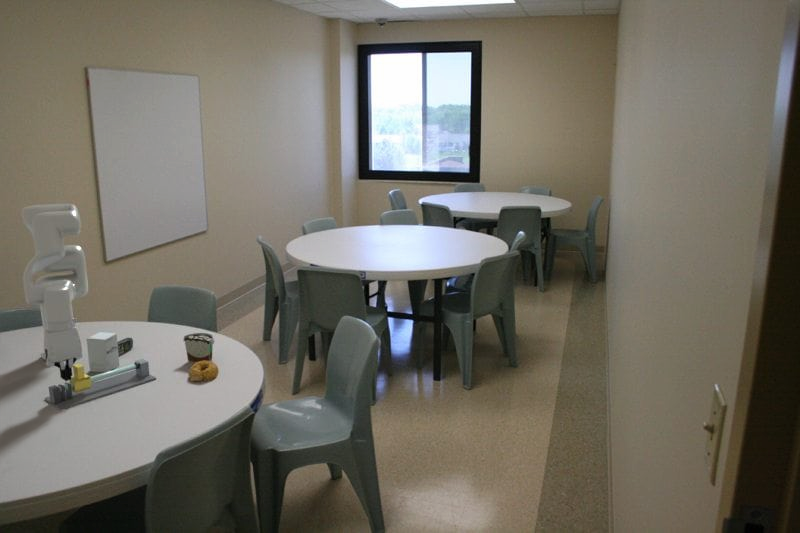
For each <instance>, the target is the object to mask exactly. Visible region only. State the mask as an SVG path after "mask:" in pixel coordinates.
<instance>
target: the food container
mask: <svg viewBox="0 0 800 533" xmlns="http://www.w3.org/2000/svg"><path fill="white" fill-rule="evenodd" d="M183 342H184V345H185V350H186V358H187V362H188V363H193V362H199V361H210V362H213V348H214V347H213V345H214V344H215V338H214V336H213V335H212V334H210V333H207V332H193V333H189V334H186V335H183Z"/></svg>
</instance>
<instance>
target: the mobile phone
mask: <svg viewBox="0 0 800 533" xmlns="http://www.w3.org/2000/svg"><path fill="white" fill-rule="evenodd" d="M133 340H134V339H133V338H132V337H126V338H123V339H121V340H118V341H117V344H118V355H119V357H120V356H122V355H123V354H126V353H128V352H129V351H131V350H132V348H133V347H134V341H133Z"/></svg>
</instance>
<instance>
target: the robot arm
mask: <svg viewBox="0 0 800 533" xmlns="http://www.w3.org/2000/svg"><path fill="white" fill-rule="evenodd" d="M21 218H22V221H23V223H24V225H25V226H26V228H27V229H28V230H29V231H30V234H31V236H32V238H33V245H34V252H35V253H34V254H35V255H34V256H33V257H32V258H31V260H30V261H28V263H27V265H26V266H25V267H24V268H25V269H24V270H23V271H24V272H23V276H22V278H23V280H22V281H23V282H22V283H23V289H24V297H25V301H26V303H27V304H28V305H29V306H31V307H39V308H40V309H39V310H40V316H41V323H42V331H43V353H42V354H41V359H42V360H44V361H46V362H45V365H46V366H47V367H56V368H58V369H59V374H60V379H62V380H64V381H65V382H68V381H69V380H71V377H73V365H75V363H76V362H77V361H79V360H80V359H82V358H83V349H82V347H83V346H82V341H81V336H80V335H79V331H78V328H77V326H76V324H75V323H77V322H79V319H78V317H74V313H73V304H72V301H73V300H74V299H76V298H81V297H85V296H86V295H87V294H88V292H89V282H88V281H89V280H88V271H87V261H86V255H85V251H84V250H83V248H82V247H81V246H80V245H77V244H70V245H69V244H68V245H67V244H66V245H65V243H64V237H66V236H67V237H68V236H77V235H79V234H80V233H81V231H82V221H81V216H80V213H79V210H78V208H77V206H76V205H74V204H73V203H54V204H35V205H34V204H33V205H28V206H25V207H23V208H22V210H21ZM39 272H41V273H45V274H47V273H53V274H47V275H43V276H39V277H38V278H37V279H36V280H35V282H34V276H35V275H36V274H38V273H39ZM59 272H67V273H59ZM55 273H56V274H55Z"/></svg>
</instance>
